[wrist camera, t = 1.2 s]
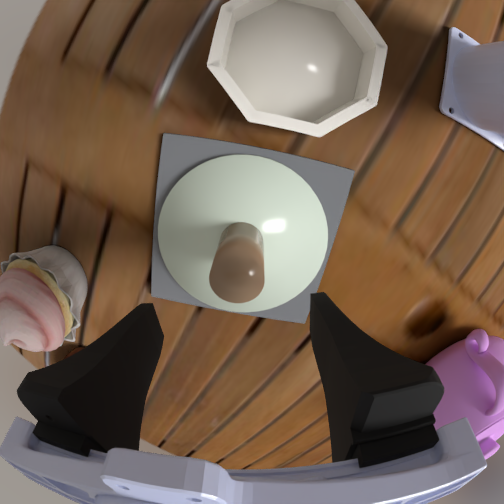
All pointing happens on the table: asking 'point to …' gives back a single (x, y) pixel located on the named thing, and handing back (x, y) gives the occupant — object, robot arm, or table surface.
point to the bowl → (298, 62)
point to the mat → (203, 149)
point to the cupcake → (41, 298)
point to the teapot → (473, 387)
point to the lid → (242, 233)
